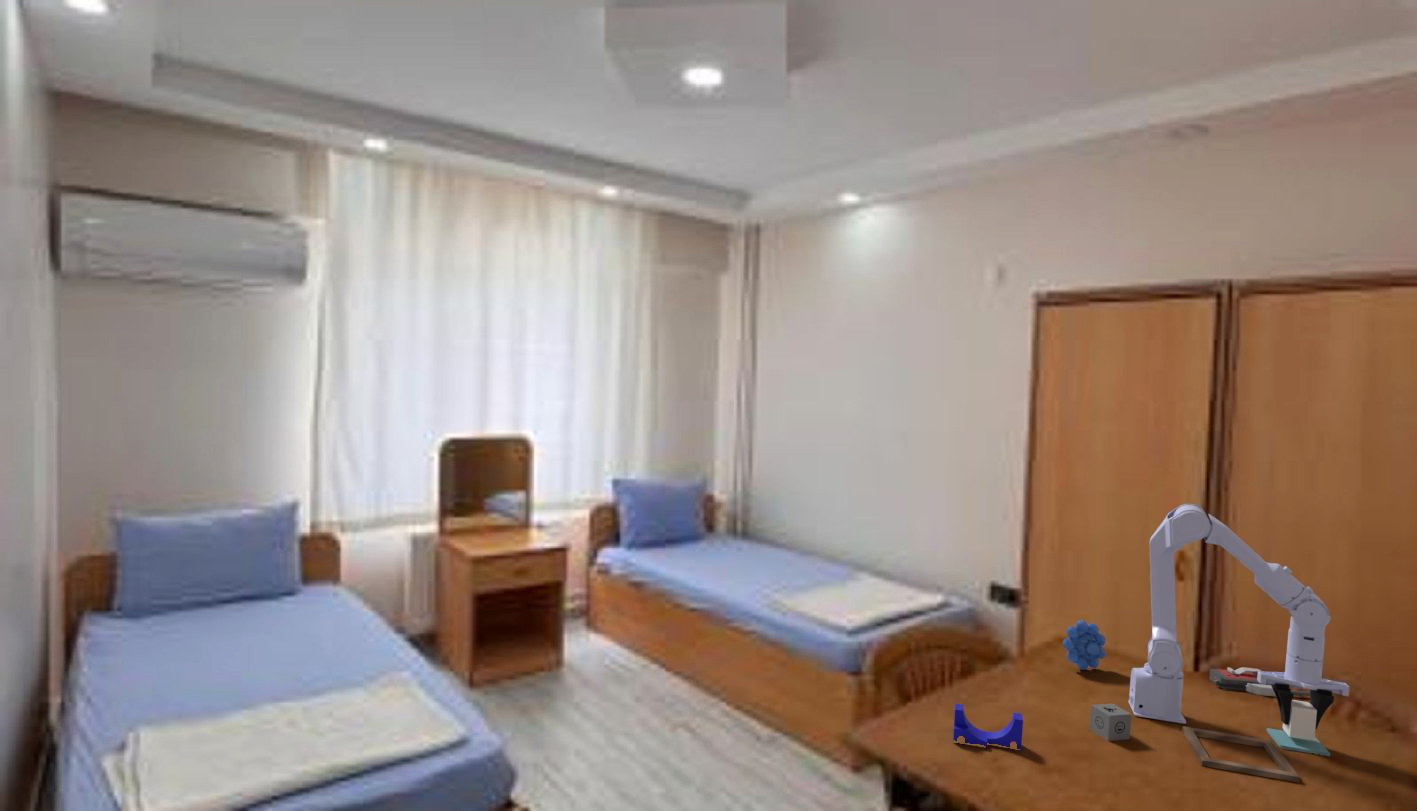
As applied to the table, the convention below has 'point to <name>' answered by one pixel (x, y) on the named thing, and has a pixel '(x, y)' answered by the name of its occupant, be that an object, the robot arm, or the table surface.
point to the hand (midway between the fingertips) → (1298, 724)
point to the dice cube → (1110, 722)
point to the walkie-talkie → (1244, 681)
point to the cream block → (1301, 721)
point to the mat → (1297, 743)
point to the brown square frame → (1283, 774)
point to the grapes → (1084, 645)
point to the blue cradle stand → (982, 737)
